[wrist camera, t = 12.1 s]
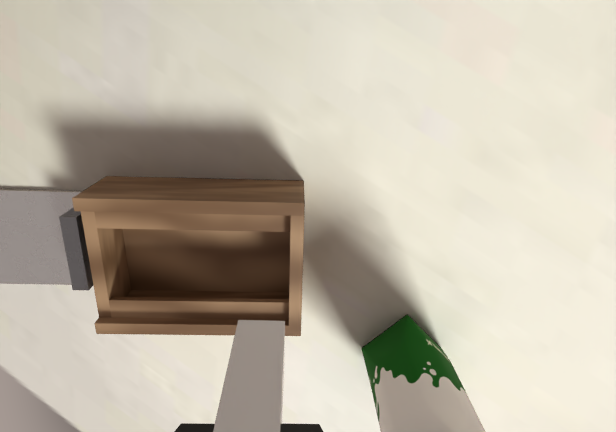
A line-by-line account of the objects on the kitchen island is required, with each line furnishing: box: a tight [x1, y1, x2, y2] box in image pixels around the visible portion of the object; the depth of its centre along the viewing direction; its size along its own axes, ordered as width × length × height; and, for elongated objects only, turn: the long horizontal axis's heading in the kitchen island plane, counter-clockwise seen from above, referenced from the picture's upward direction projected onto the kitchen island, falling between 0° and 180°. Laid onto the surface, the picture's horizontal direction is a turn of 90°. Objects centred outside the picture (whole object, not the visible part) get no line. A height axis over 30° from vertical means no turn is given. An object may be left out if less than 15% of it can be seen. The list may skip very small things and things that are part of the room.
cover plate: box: [0, 189, 93, 290], centre depth 43 cm, size 11×17×4 cm, turn 88°
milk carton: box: [362, 315, 485, 432], centre depth 42 cm, size 9×9×20 cm
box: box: [72, 176, 305, 336], centre depth 42 cm, size 14×20×7 cm
